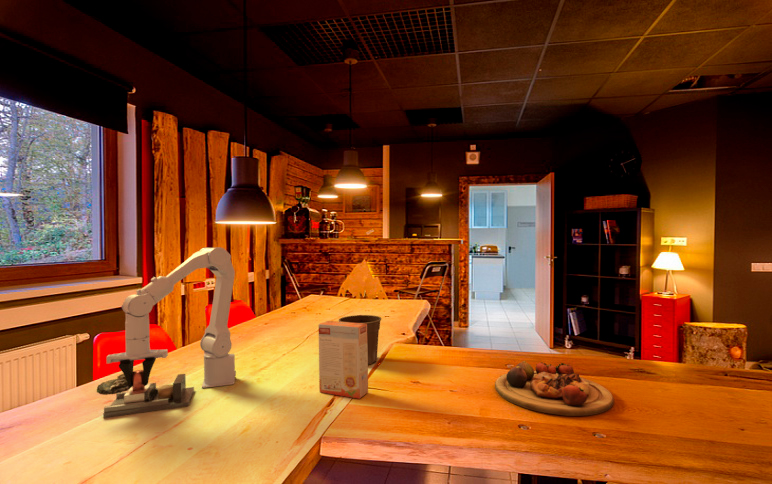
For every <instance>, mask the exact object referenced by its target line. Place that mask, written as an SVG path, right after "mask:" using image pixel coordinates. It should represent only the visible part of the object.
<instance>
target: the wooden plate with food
mask: <svg viewBox="0 0 772 484" xmlns="http://www.w3.org/2000/svg"><path fill="white" fill-rule="evenodd" d="M494 388H495V391H496V393H497V394H498V396H500V397H501V398H503V399H504V400H506V401H508V402H510V403H512V404H514V405H516V406H519V407H521V408H525V409H527V410H530V411H531V410H532V411H535V412H540V413H544V414H549V415H556V416H557V415H558V416H569V417H570V416H573V417H575V416H576V417H580V416H581V417H582V416H583V417H584V416H585V417H587V416H592V415H593V416H594V415H598V414H602V413H604V412H607V411H609V410H610V409H611V408H612V407H613V405H614V402H615V399H614V398H615V397H614V396H613V394H612V393H611V392H610V390H608V388H606V387H604V386H603V385H601V384H599V383H598V382H596V381H592V380H590V379H586V378H584V377H581V376H580V374H579V373H575V371H574V368H573V366H572V365H570V364H566V363H563V362H561V363H559V364H558V365H555V366H554V365H552V364H551V363H550V364H547V363H546V362H543V361H541V362H539V363H537V364H535V370H534V368H533V366H532V365H531V364H530V363H528V362H527V361H526V360H523V361H521V362H519V363H517V364H516V365H515V366H513V367H512V368H510V370H508V372H507V373H503V374H501V375H500V376H499V377H498V378H497V379H496V380H495V382H494Z"/></svg>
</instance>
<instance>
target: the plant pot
mask: <svg viewBox="0 0 772 484" xmlns="http://www.w3.org/2000/svg"><path fill="white" fill-rule="evenodd" d="M381 321H382V317H380V316H378V315H372V314H371V315H370V314H359V315H358V314H356V315H347V316H343V317H341V318H338V322H350V323H363V324H367V348H368V365H371V364H374V363H375V362H377V361H378V345H379V335H380V334H379V330H380V328H381Z"/></svg>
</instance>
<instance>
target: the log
mask: <svg viewBox="0 0 772 484" xmlns="http://www.w3.org/2000/svg"><path fill="white" fill-rule="evenodd" d="M130 388H131V387H130ZM130 388H129V387H128V383H127V380H126V377H125V375H124V374H123V373H121V374H119V375H118V376H117V377H116V378H115V379H111V380H106V381H104V382H101V383H100V384H98V385H97V388H96V393H98V394H99V395H116V394H117V393H121V392H127V391H128V390H129V389H130Z"/></svg>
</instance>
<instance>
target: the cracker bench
mask: <svg viewBox="0 0 772 484" xmlns="http://www.w3.org/2000/svg"><path fill="white" fill-rule="evenodd" d="M186 382H187V381H186V373H180V374H177V375H176V377H175V380H174V382H173V383H172V385H173V398H171V399H169V398H168V399H160V400H158V388H159V387H156V394H155V396H154V397H153V399H152V400H151V401H145V402H137V403H129V404H124V395H125V394H126V393H127V391H123V392H119V393H116V394H115V395H116V396H115V397H116V398H115V399H114V400H113V401H112V403H111V404H110V405H109V406H108V405H107V406H104V408H103V415H102V417H103V419H106V418H114V417H121V416H128V415H129V416H130V415H136V414H141V413H142V414H144V413H150V412H157V411H165V410H170V409H179V408H187V407H189V405H190V403H191V400H192V398H193V394H194V391H195V387H194V386H191V387H187V384H186Z"/></svg>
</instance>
